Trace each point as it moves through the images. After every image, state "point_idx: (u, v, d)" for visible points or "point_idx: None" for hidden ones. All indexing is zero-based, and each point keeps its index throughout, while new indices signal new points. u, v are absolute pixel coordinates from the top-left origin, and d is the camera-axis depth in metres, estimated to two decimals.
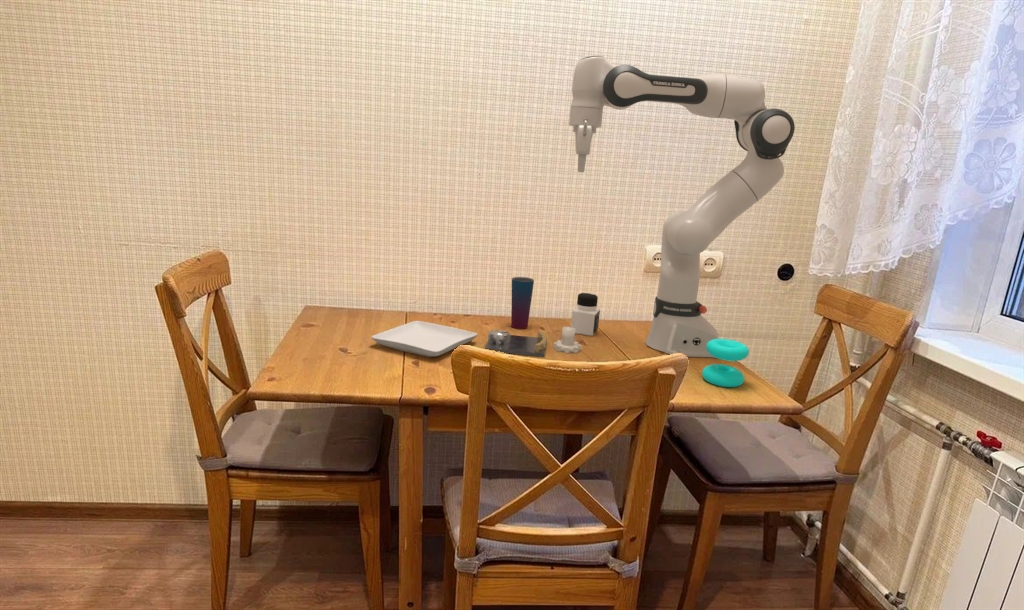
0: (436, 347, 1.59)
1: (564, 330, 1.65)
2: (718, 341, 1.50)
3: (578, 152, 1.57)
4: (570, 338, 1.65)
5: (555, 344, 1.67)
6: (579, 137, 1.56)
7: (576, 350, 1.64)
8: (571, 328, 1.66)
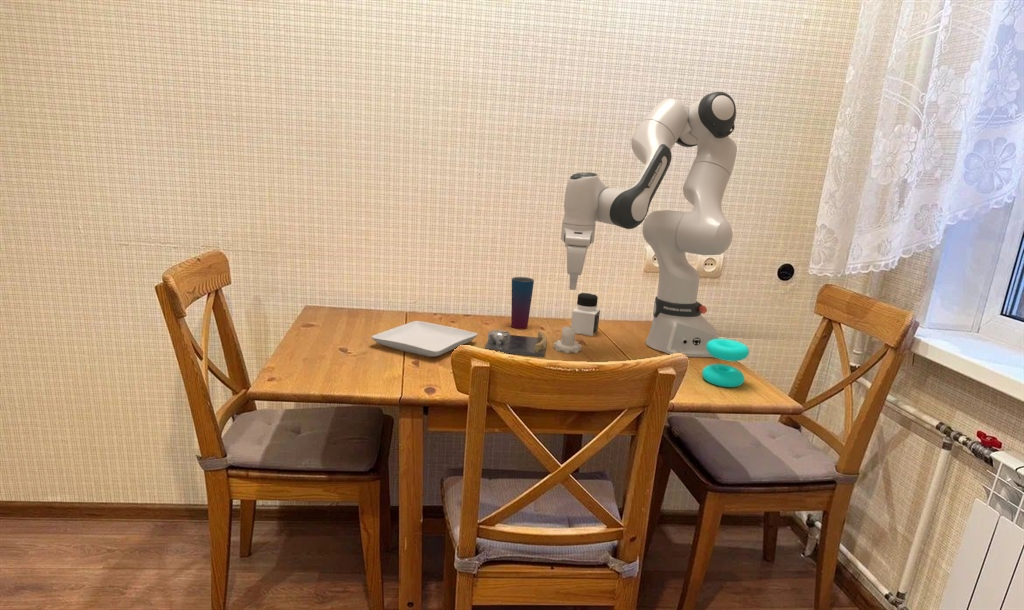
0: (436, 347, 1.59)
1: (564, 330, 1.65)
2: (718, 341, 1.50)
3: None
4: (570, 338, 1.65)
5: (555, 344, 1.67)
6: None
7: (576, 350, 1.64)
8: (571, 328, 1.66)
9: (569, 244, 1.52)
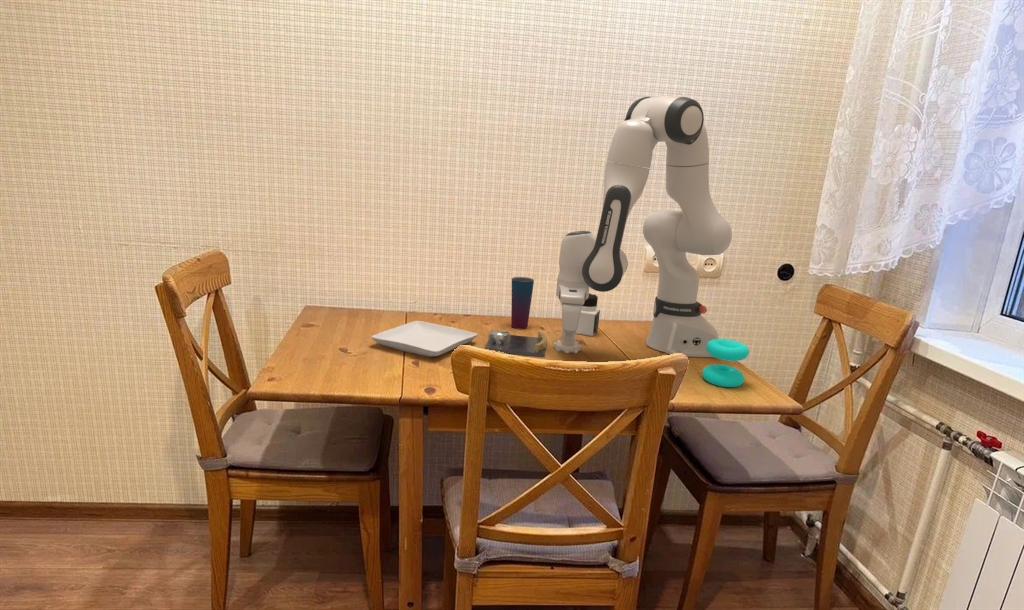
0: (436, 347, 1.59)
1: None
2: (718, 341, 1.50)
3: None
4: None
5: (555, 344, 1.67)
6: None
7: (576, 350, 1.64)
8: None
9: (564, 302, 1.56)
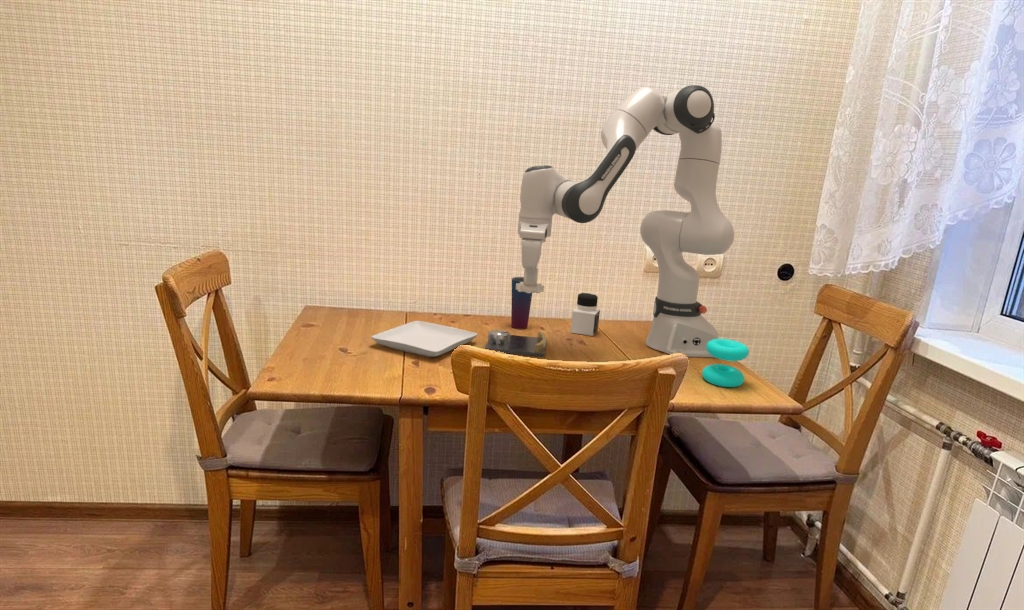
0: (436, 348, 1.59)
1: (526, 270, 1.60)
2: (718, 341, 1.50)
3: None
4: None
5: (517, 285, 1.62)
6: None
7: (538, 290, 1.60)
8: None
9: (524, 237, 1.51)
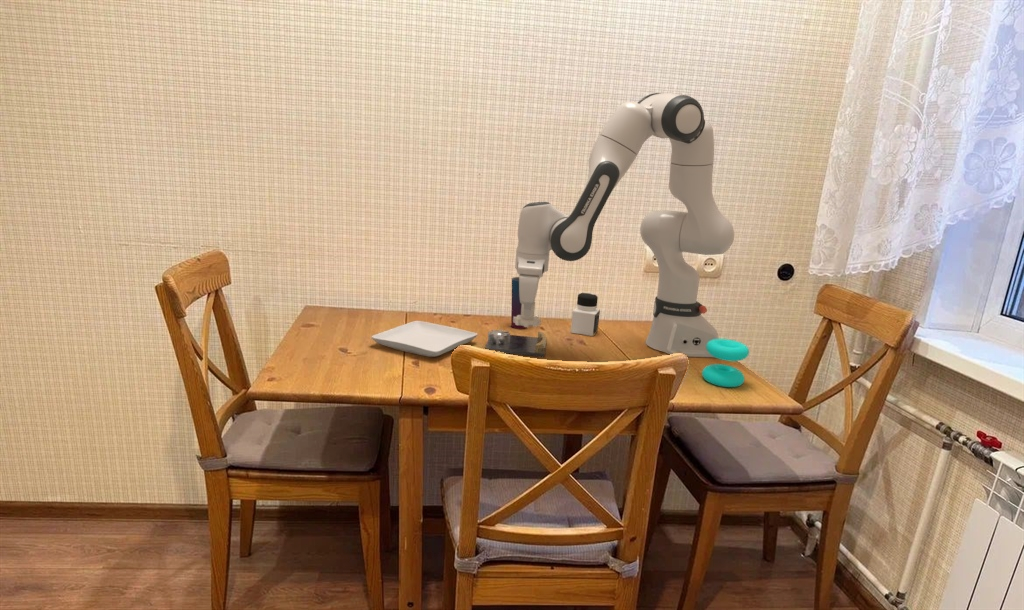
0: (436, 348, 1.59)
1: (523, 304, 1.62)
2: (718, 341, 1.50)
3: None
4: None
5: (514, 318, 1.64)
6: None
7: (535, 324, 1.61)
8: None
9: (521, 274, 1.53)
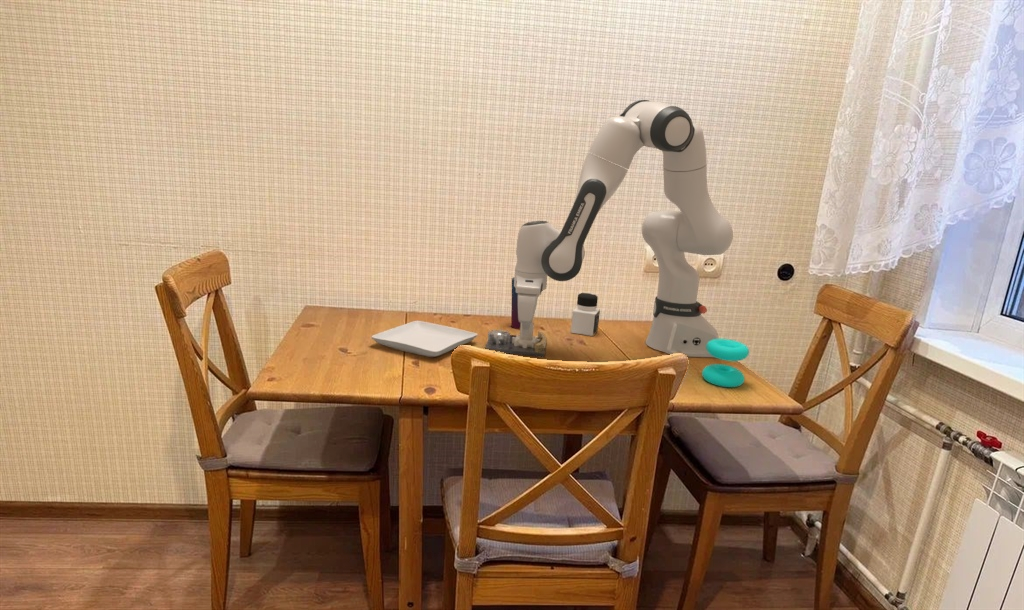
0: (436, 348, 1.59)
1: None
2: (718, 341, 1.50)
3: None
4: None
5: (513, 339, 1.66)
6: None
7: (534, 345, 1.63)
8: None
9: (520, 293, 1.54)
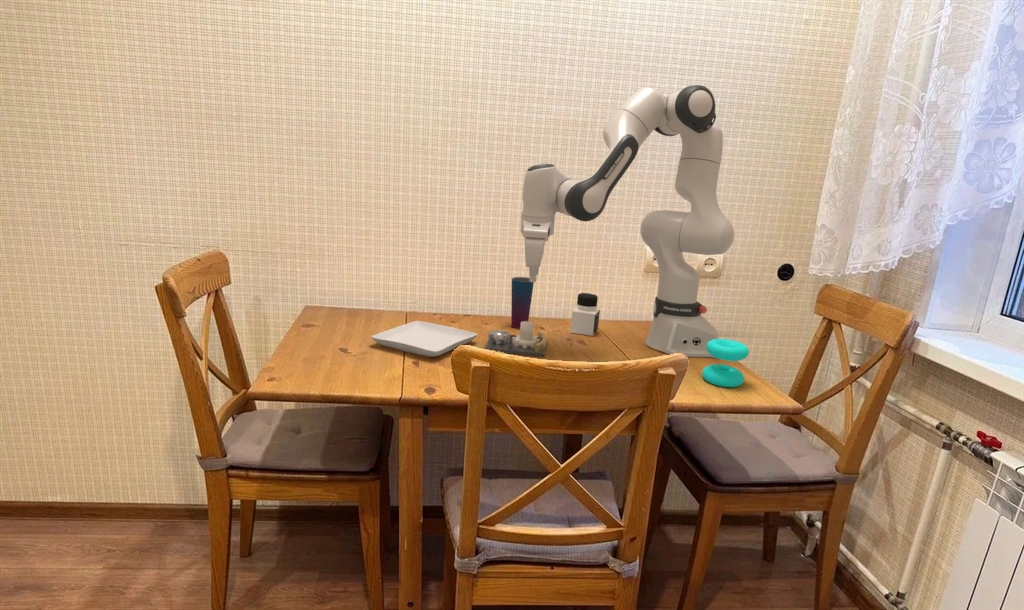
0: (436, 348, 1.59)
1: (522, 325, 1.64)
2: (718, 341, 1.50)
3: None
4: (528, 332, 1.64)
5: (513, 339, 1.66)
6: None
7: (534, 345, 1.63)
8: (529, 323, 1.65)
9: (527, 237, 1.52)
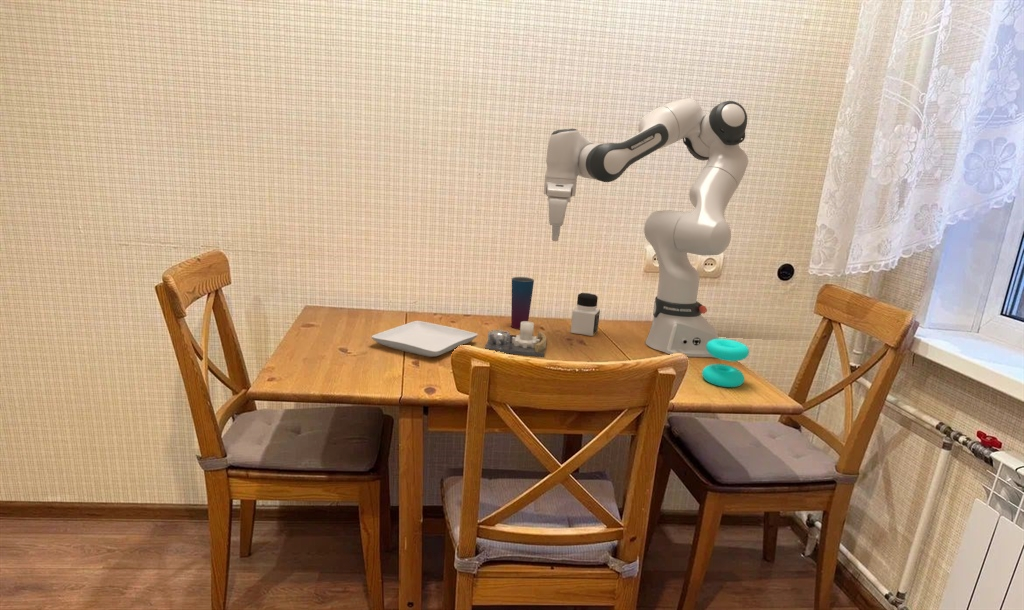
0: (436, 348, 1.59)
1: (522, 325, 1.64)
2: (718, 341, 1.50)
3: None
4: (528, 332, 1.64)
5: (513, 339, 1.66)
6: None
7: (534, 345, 1.63)
8: (529, 323, 1.65)
9: (551, 196, 1.60)
